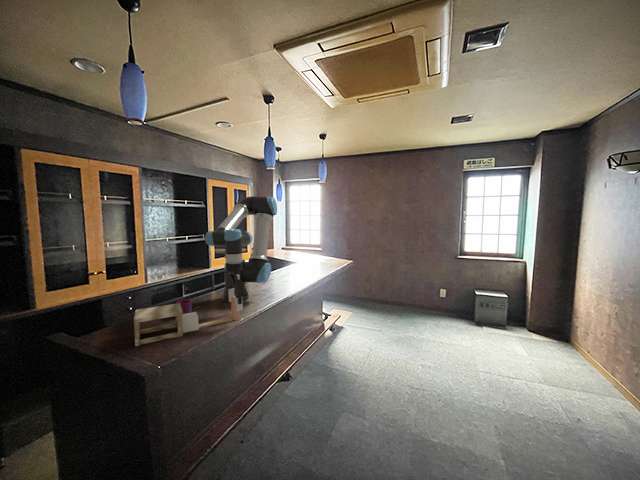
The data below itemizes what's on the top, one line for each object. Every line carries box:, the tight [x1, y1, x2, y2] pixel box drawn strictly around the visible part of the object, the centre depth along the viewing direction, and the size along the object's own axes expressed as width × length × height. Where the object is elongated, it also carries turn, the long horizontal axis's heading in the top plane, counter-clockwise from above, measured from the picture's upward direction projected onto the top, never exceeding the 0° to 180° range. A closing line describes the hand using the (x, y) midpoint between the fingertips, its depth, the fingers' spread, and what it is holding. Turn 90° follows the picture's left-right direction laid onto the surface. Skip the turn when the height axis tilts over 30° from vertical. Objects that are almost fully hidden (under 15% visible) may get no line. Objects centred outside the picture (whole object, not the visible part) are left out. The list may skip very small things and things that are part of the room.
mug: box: [175, 299, 193, 314], centre depth 125 cm, size 7×10×7 cm
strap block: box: [182, 296, 240, 334], centre depth 116 cm, size 24×6×11 cm, turn 124°
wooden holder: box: [133, 303, 184, 347], centre depth 105 cm, size 16×13×10 cm
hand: (235, 305), depth 122 cm, fingers open, 13 cm apart
